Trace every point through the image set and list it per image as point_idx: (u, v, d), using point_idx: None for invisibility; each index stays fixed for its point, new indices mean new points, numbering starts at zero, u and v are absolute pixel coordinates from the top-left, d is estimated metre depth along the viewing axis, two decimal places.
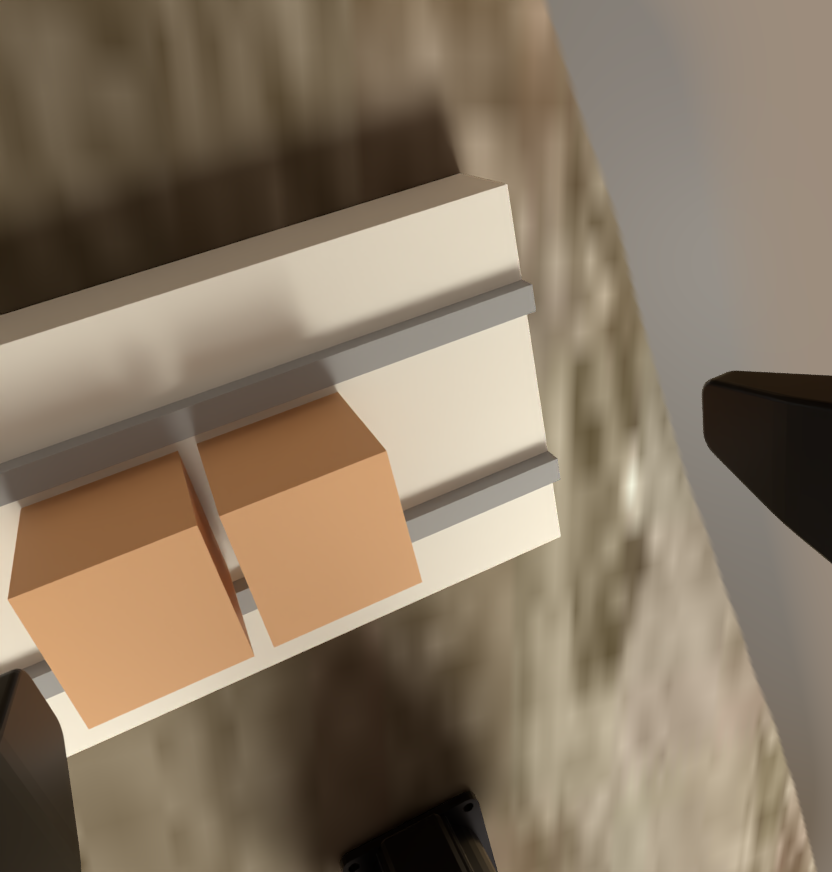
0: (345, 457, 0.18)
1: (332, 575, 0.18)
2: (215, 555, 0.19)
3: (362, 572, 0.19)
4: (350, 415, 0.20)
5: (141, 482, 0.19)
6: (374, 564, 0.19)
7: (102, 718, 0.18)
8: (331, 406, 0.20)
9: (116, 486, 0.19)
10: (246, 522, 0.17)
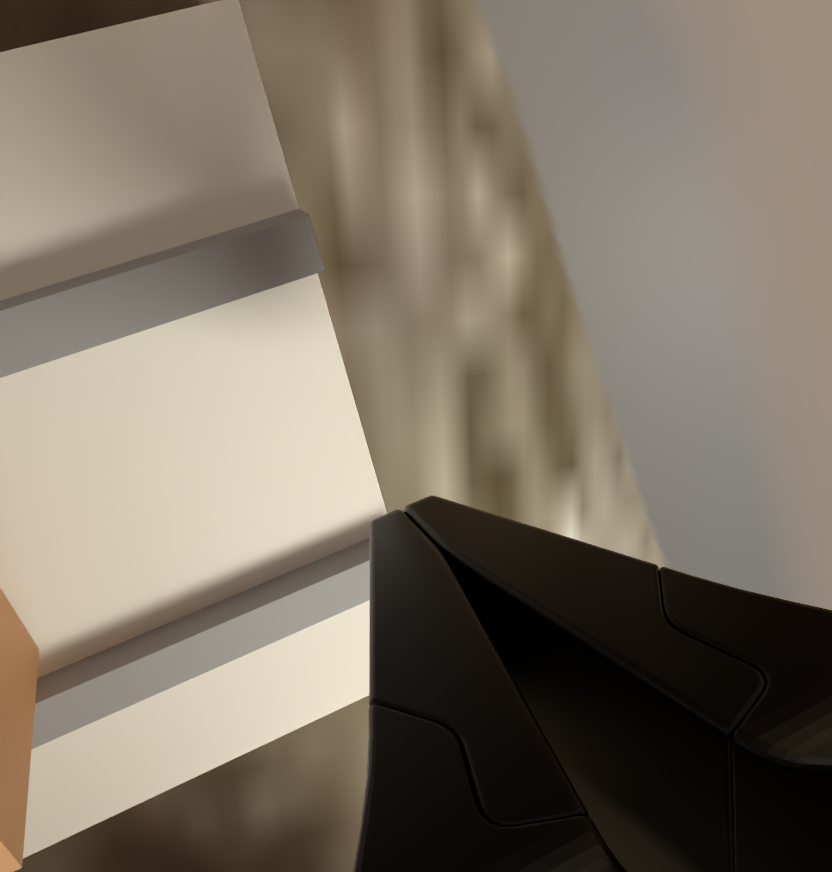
0: None
1: None
2: None
3: None
4: None
5: None
6: None
7: None
8: None
9: None
10: None
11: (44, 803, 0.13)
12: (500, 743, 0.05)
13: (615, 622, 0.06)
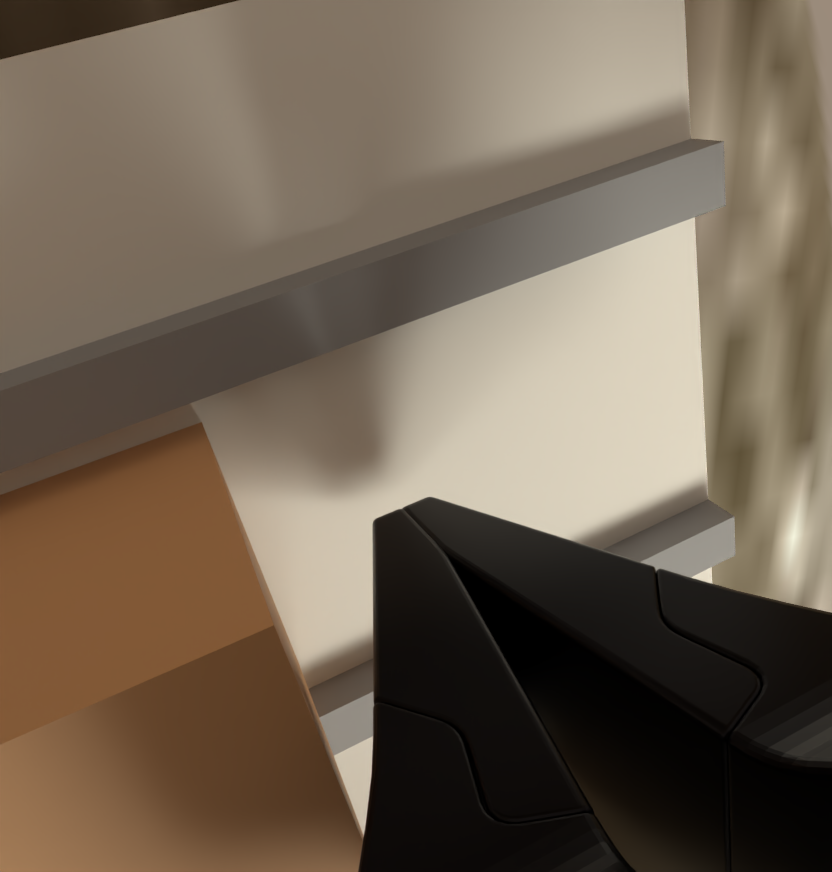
0: (148, 645, 0.06)
1: None
2: None
3: None
4: (208, 488, 0.08)
5: None
6: None
7: None
8: (173, 460, 0.08)
9: None
10: None
11: None
12: (504, 741, 0.05)
13: (612, 623, 0.06)
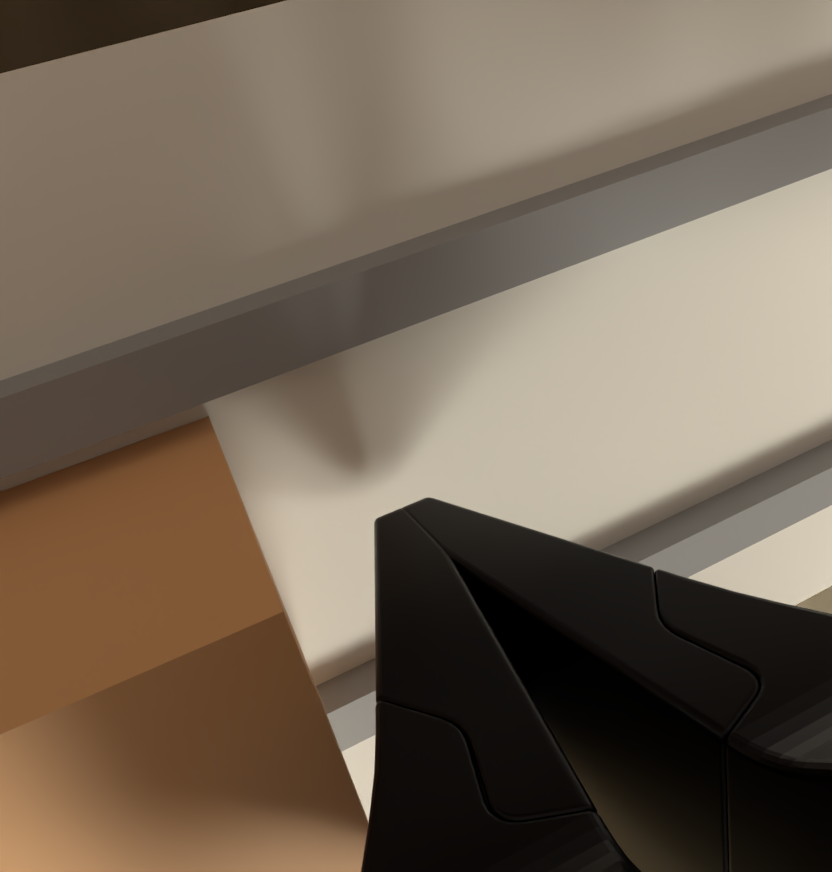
0: (159, 631, 0.06)
1: None
2: None
3: None
4: (217, 480, 0.08)
5: None
6: None
7: None
8: (181, 453, 0.08)
9: None
10: None
11: None
12: (507, 740, 0.05)
13: (610, 624, 0.06)
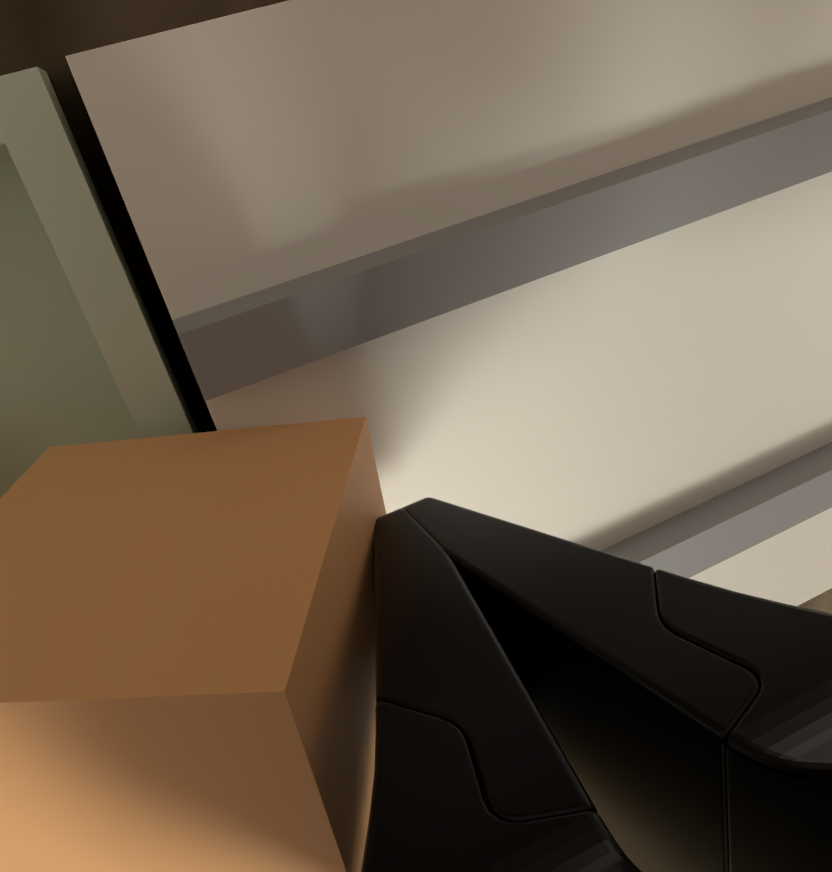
0: (183, 656, 0.06)
1: None
2: None
3: None
4: (326, 499, 0.07)
5: None
6: None
7: None
8: (319, 451, 0.08)
9: None
10: None
11: None
12: (507, 739, 0.05)
13: (610, 624, 0.06)
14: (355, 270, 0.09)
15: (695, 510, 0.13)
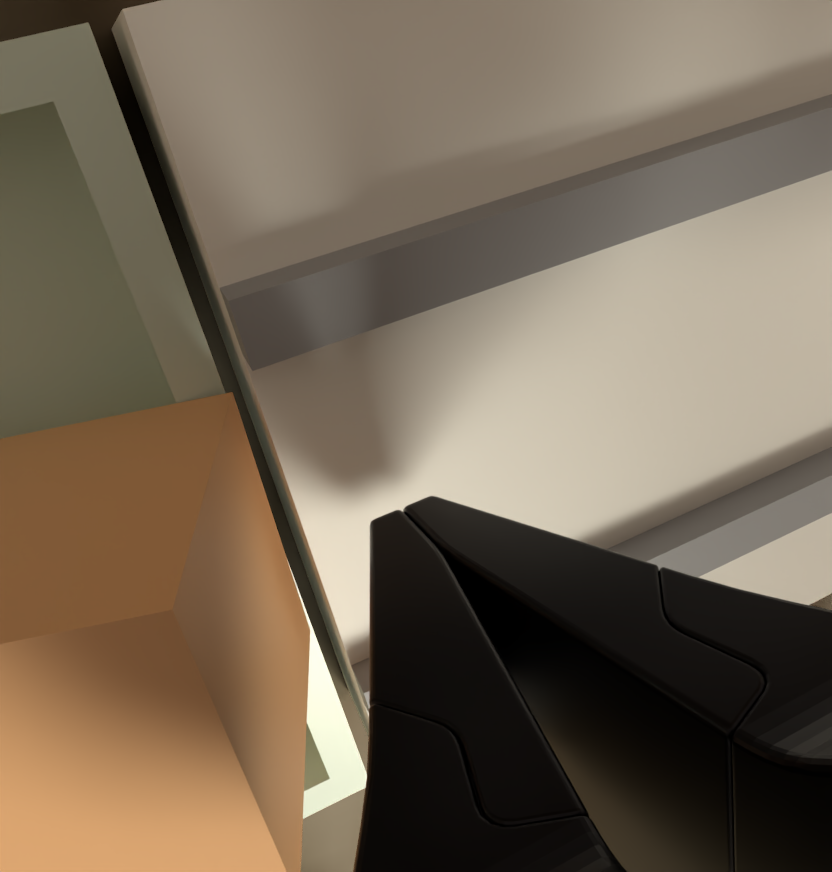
0: (73, 600, 0.06)
1: (48, 866, 0.07)
2: None
3: (131, 867, 0.07)
4: (200, 460, 0.08)
5: None
6: (163, 855, 0.07)
7: None
8: (191, 424, 0.09)
9: None
10: None
11: None
12: (500, 743, 0.05)
13: (615, 622, 0.06)
14: (406, 240, 0.08)
15: (728, 498, 0.13)
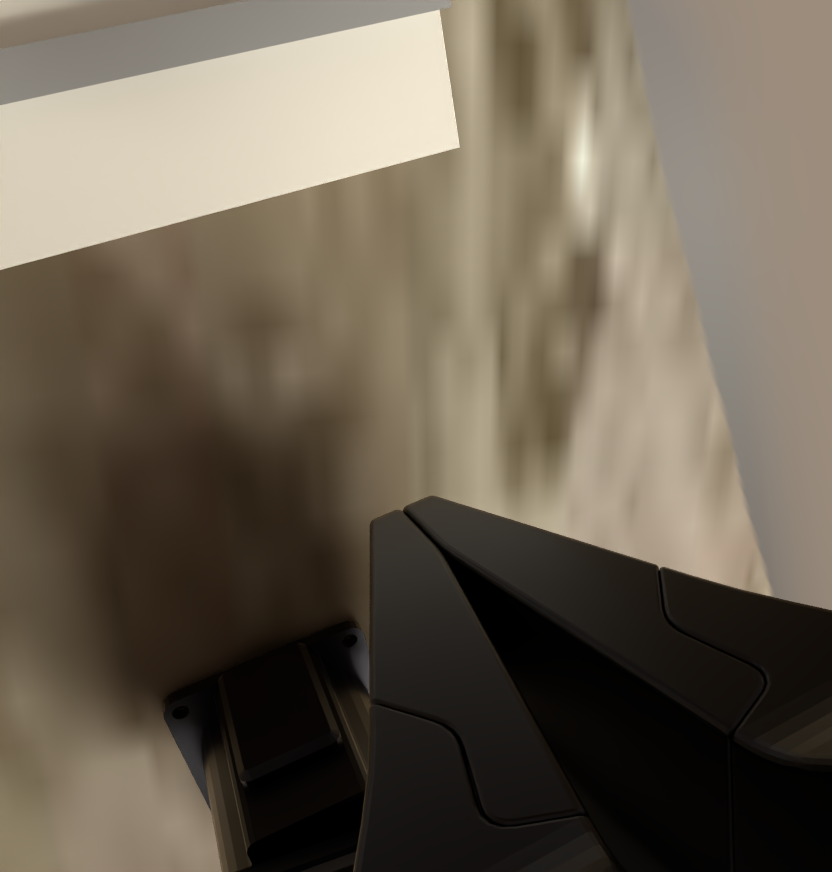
0: None
1: None
2: None
3: None
4: None
5: None
6: None
7: None
8: None
9: None
10: None
11: (111, 185, 0.15)
12: (500, 743, 0.05)
13: (615, 622, 0.06)
14: None
15: None
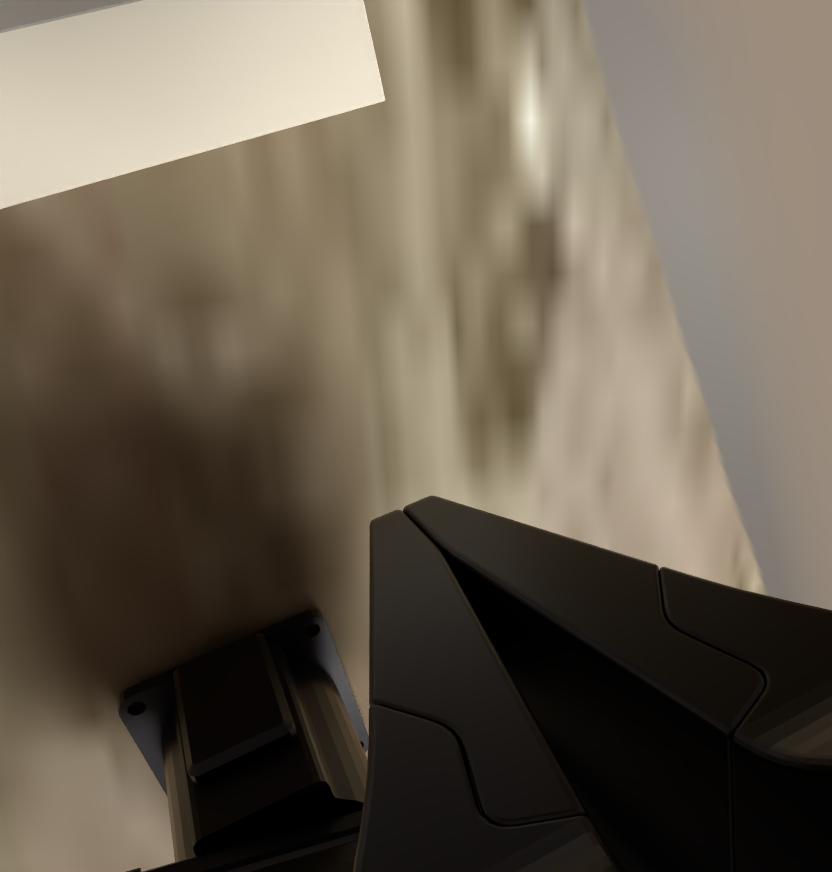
0: None
1: None
2: None
3: None
4: None
5: None
6: None
7: None
8: None
9: None
10: None
11: (8, 146, 0.14)
12: (500, 743, 0.05)
13: (615, 622, 0.06)
14: None
15: None
